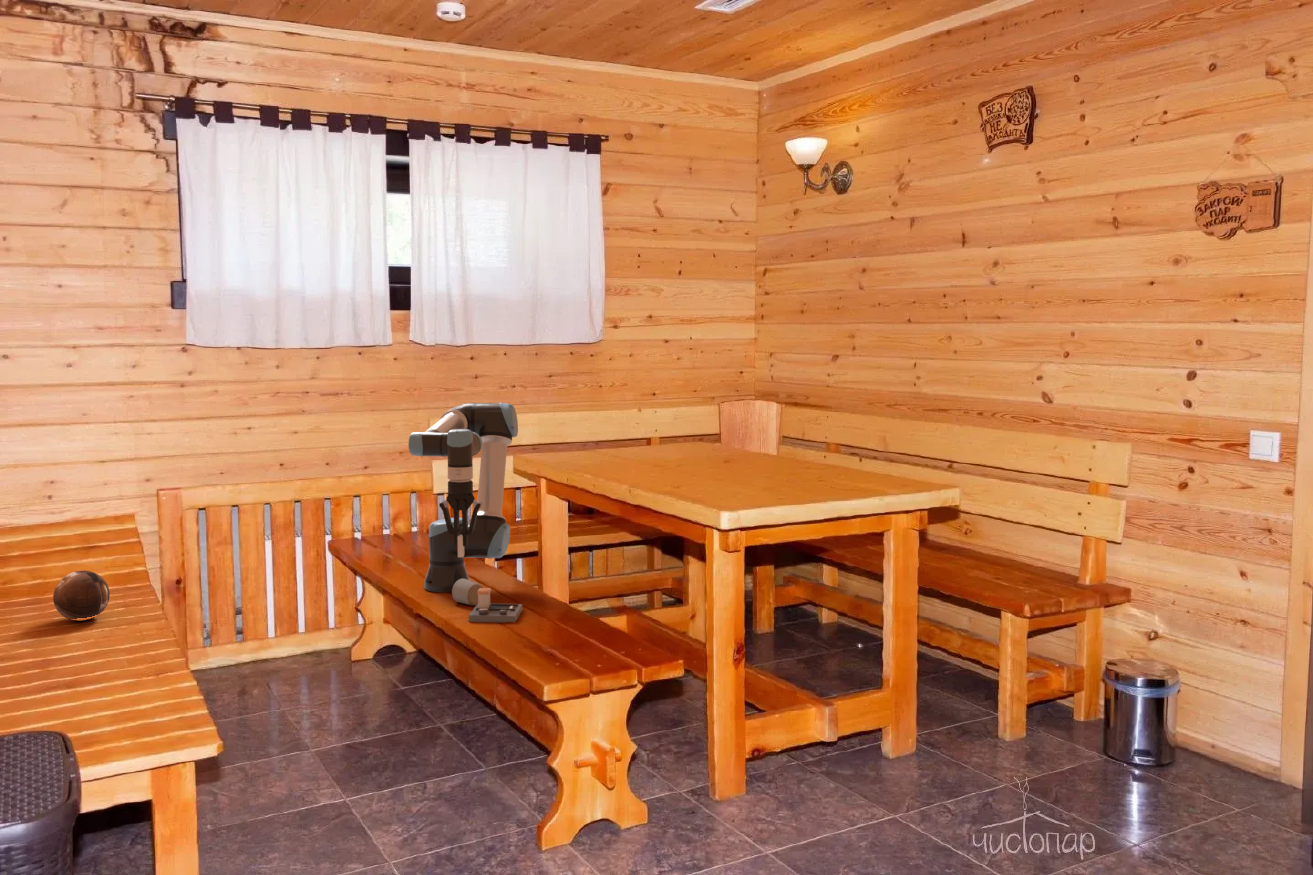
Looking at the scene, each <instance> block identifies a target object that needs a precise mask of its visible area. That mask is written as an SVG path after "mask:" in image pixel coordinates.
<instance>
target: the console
mask: <svg viewBox="0 0 1313 875" xmlns="http://www.w3.org/2000/svg"><path fill="white" fill-rule="evenodd" d="M521 611H522V612H523V603H493V602H492V603H491V602H490V606H489V608H478V604H477V605H475V607H474V608H473V609H472V610H471V611H470V612H469V615H468V622H469V623H506V622H515V621H516V622H517V620H518V619H519V617H520V615H521V614H522V612H521ZM520 613H521V614H520ZM516 622H515V623H516Z"/></svg>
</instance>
